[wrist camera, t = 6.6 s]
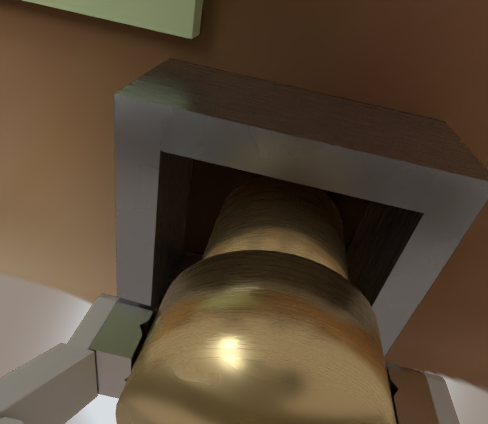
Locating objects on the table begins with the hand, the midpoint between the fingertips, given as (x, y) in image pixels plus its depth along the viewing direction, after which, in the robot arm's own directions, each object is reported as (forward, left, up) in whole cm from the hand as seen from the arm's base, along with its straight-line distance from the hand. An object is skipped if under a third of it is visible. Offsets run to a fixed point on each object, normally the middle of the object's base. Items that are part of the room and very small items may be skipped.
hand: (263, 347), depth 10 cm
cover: (0, 0, -6) cm, 6 cm away
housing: (0, 0, -7) cm, 7 cm away
